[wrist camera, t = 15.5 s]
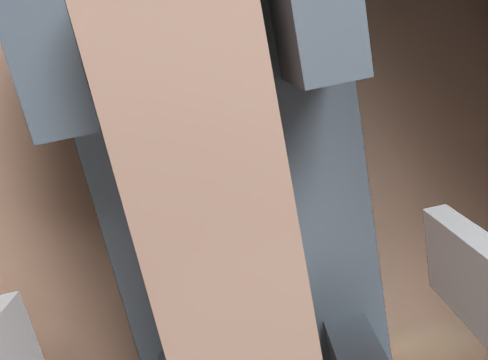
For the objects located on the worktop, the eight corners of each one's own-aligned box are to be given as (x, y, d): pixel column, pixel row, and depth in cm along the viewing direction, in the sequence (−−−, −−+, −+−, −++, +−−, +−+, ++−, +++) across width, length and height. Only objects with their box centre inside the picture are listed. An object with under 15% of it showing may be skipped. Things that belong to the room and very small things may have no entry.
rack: (173, 435, 25) (151, 586, 18) (36, -32, 19) (-82, -84, 12) (388, 394, 25) (453, 531, 18) (323, -92, 19) (383, -183, 12)
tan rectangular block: (235, 412, 23) (240, 625, 15) (135, -5, 18) (49, -57, 9) (314, 398, 23) (365, 603, 15) (235, -25, 18) (243, -98, 9)
